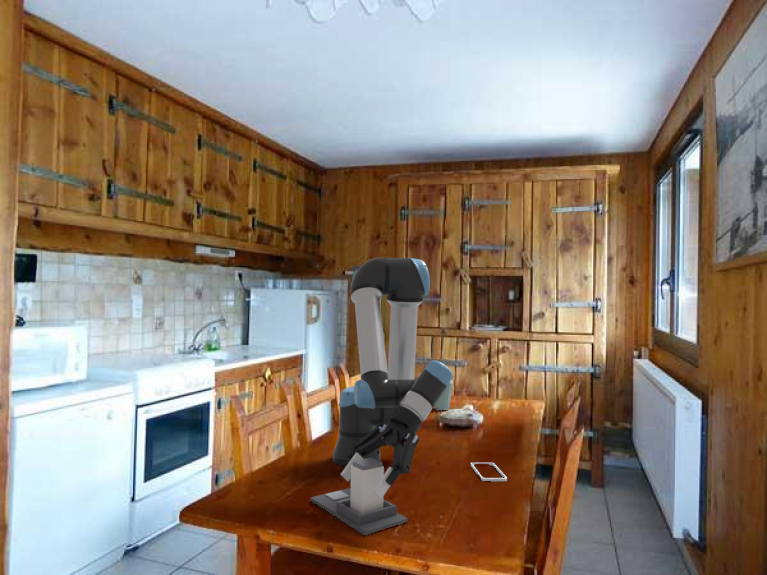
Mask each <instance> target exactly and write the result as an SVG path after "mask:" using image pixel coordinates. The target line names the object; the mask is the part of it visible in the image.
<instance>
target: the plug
mask: <svg viewBox="0 0 767 575" xmlns="http://www.w3.org/2000/svg"><path fill="white" fill-rule="evenodd" d="M384 474H385V467H384V465H383V462H382V460H380V461H378V460H376V459H374V458H367V459H362V460H357V461H353V465H351V479H350V488H351V494H350V508H351V509H352V510H354V511H356V512H357V513H359V514H364V513H367V512H371V511H374V510H378V509H382V508H383V499H384V497H383V498H382V499H381V498H379V497H378V496H377V495H376V494H375V493H374V492H373V490H374V489H375V487H376V486H377V484H378V483H379V481H380V480H381V478H382V477H383V475H384Z"/></svg>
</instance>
